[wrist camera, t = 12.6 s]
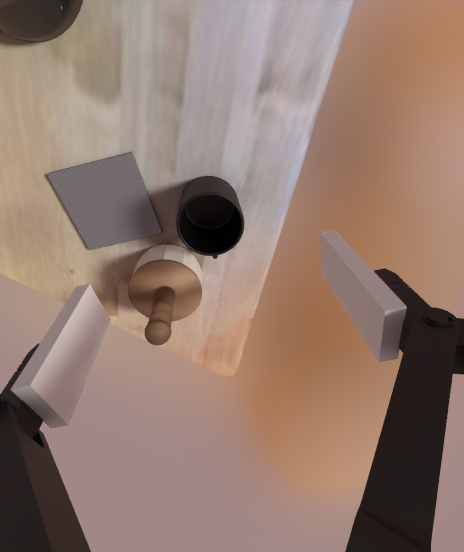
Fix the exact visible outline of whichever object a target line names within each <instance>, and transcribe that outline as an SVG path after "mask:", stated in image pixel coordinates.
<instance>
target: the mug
mask: <svg viewBox="0 0 464 552" xmlns="http://www.w3.org/2000/svg"><path fill="white" fill-rule="evenodd" d="M176 226H177V232H178V235H179V237H180V239H181V240H182V242H183V243H184V244H185V245H186V246H187V247H188V248H189V249H190V250H192V251H194V252H196V253H198V254H201V255H207V256H213V258H214V259H217V257H218V255H220V254H223V253H225V252H227V251H229V250H231V249H232V248H233V247H234V246H235V245H236V244H237V243H238V242H239V240H240V239H241V237H242V234H243V231H244V217H243V214H242V211H241V207H240V204H239V201H238V198H237V195H236V193H235V191H234V189H233V188H232V186H231V185H230V184H229V183H227V182H226V181H225V180H223V179H221V178H218V177H214V176H204V177H200V178H197V179H195V180H194V181H192V182H191V183H190V184H189V185H188V186H187V187H186V188H185V190H184V191H183V194H182V197H181V201H180V205H179V210H178V215H177V220H176Z"/></svg>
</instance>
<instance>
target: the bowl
mask: <svg viewBox="0 0 464 552" xmlns="http://www.w3.org/2000/svg"><path fill="white" fill-rule="evenodd" d="M162 259H164V260H173V261H177V262H179V263H182V264H184V265H186V266H187V267H189V268H190V269H191V270H192V271H193V272H194V273H195V274H196V275H197V277H198V278H199V280H200V283H201V287H202V274H201V269H200V265H199V262H198V260H197V259H196V257H195V256H194V255H193V254H192V253H191V252H190V251H188V250H187V249H185V248H183V247H181V246H178V245H173V244H161V245H157V246H154V247H152V248H150V249H148V250H147V251H146V252H145V253H144V254H143V255H142V256H141V258H140V259H139V260H138V262H137V265H136V268H135V270H134V272H135V271H136V270H137V269H138V268H139V267H140V266H142V265H143V264H145V263H147V262H150V261H154V260H162Z"/></svg>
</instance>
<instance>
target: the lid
mask: <svg viewBox="0 0 464 552" xmlns="http://www.w3.org/2000/svg"><path fill="white" fill-rule="evenodd" d="M128 295H129V299H130V301H131V303H132V305H133V306H134V307H135V308H136V309H137V310H138V311H139V312H140V313H141V314H143V315H145V316H146V317H149V322H148V325H147V326H146V328H145V337H146V339H147V341H148V342H149V343H151V344H153V345H162V344H164V343H166V342H167V341H168V340H169V338H170V336H171V321H176V320H180V319H183V318H185V317H187V316H189V315H190V314H192V313H193V312H194V311H195V310H196V309H197V307H198V306H199V304H200V301H201V297H202V287H201V283H200V280H199V278H198V277H197V275H196V274H195V273H194V272H193V271H192V270H191V269H190V268H189V267H187V266H186V265H184V264H182V263H179V262H177V261H173V260H164V259H162V260H154V261H150V262H147V263H145V264H143V265H142V266H140V267H139V268H138V269H137V270H136V271H135V272H134V273H133V275H132V277H131V279H130V282H129V285H128Z"/></svg>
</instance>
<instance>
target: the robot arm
mask: <svg viewBox="0 0 464 552" xmlns="http://www.w3.org/2000/svg"><path fill="white" fill-rule="evenodd" d="M82 1H83V0H0V33H1V34H4V35H7V36H10V37H13V38H17V39H20V40H24V41H31V42H41V41H47V40H51V39H54V38H56V37H58V36H59V35H61V34H63V33H64V32H65V31H66V30H67V29H68V28H69V27H70V26H71V25H72V24H73V22H74V21H75V19H76V17H77V15H78V13H79V11H80V8H81V5H82ZM320 236H321V261H322V262H321V263H322V275H323V276H324V278H325V279H326V281H327V283H328V284H329V286H330V287H331V289H332V290H333V292H334V294H335V295H336V296H337V298H338V300H339V301H340V303H341V304H342V306H343V308H344V309H345V311H346V312H347V314H348V315H349V317H350V318H351V320H352V321H353V323H354V324H355V326H356V328H357V329H358V331H359V332H360V334H361V335H362V337H363V339H364V340H365V342H366V343H367V345H368V346H369V348H370V349H371V351H372V352H373V354H374V356H375V357H376V359H377V360H378V362H383V361H388V360H393V359H397V358H398V354H399V349H400V350H401V351H402V352H403V356H402V360H401V363H400V367H399V370H398V374H397V378H396V381H395V385H394V388H393V392H392V395H391V399H390V403H389V406H388V409H387V414H386V417H385V420H384V424H383V427H382V431H381V434H380V438H379V441H378V445H377V448H376V452H375V455H374V459H373V462H372V466H371V470H370V473H369V477H368V480H367V484H366V487H365V491H364V494H363V498H362V501H361V504H360V507H359V509H358V511H357V514H356V517H355V520H354V524H353V527H352V531H351V534H350V538H349V541H348V544H347V548H346V551H345V552H431V539H432V531H433V523H434V515H435V507H436V500H437V491H438V484H439V476H440V468H441V461H442V453H443V445H444V437H445V430H446V422H447V421H446V420H447V414H448V406H449V398H450V390H451V383H452V375H453V374H464V319H461V318H456V317H455V316H454V315H453V314H451V313H449V312H448V311H446V310H443V309H439V308H432V307H430V306H429V305H428V304H427V303H426V302H425V301H424V300H423V299H422V298H421V297H420V296H419V295H418V294H417V293H415V292H414V291H413V290H412V289H411V288H409V286H408V285H407V284H406V283H405V282H403V280H402V279H401V278H400V277H399V276H398V275H397V274H395V273H393V272H392V271H389V270H387V269H380V270H375V271H373V270H372V269H371V268H370V267H369V266H368V265H367V264H366V263H365V262H364V260H362V258H361V257H360V256H359V255H358V254H357V253H356V252H355V251H354V250H353V249H352V248H351V247H350V246H349V245H348V244H347V242H345V240H344V239H343V238H342V237H341V236H340V235H339V234H338V233H337V232H336V231H335V230H329V231H325V232H321V233H320ZM110 321H111V319H110V317H109V316H108V314H107V312H106V311H105V309H104V307H103V306H102V304H101V302H100V301H99V299H98V297H97V295H96V294H95V292H94V290H93V289H92V287H91V285H90V284H87V285H83V286H78V287H76V289H75V290H74V292H73V293H72V295H71V296H70V298H69V299H68V301H67V303H66V304H65V306H64V307H63V309H62V310H61V312H60V313H59V315H58V317H57V318H56V320H55V321H54V323H53V324H52V326H51V327H50V329H49V331H48V332H47V334H46V335H45V337H44V339H43V340H42V341H41V343H40V344H37V345H36V346H35V347H34V348H33V349H32V350H31V351H30V352H29V353H28V354H27V355H26V357H25V358H24V360H23V361H22V364H20V366H19V368H18V369H17V372H15V373H14V375H13V376H12V378H11V379H10V381H9V382H8V384H7V385H6V387H5V388H4V390H3V391H2V393H1V394H0V552H91V551H90V549H89V546H88V543H87V541H86V538H85V536H84V533H83V531H82V528H81V526H80V523H79V521H78V518H77V516H76V513H75V511H74V508H73V506H72V503H71V501H70V499H69V496H68V493H67V491H66V489H65V486H64V483H63V481H62V478H61V476H60V473H59V471H58V469H57V466H56V464H55V461H54V459H53V457H52V454H51V451H50V449H49V446H48V444H47V441H46V439H45V436H44V434H43V433H42V432H41V431H40V430H39V428H40V426H41V424H42V422H43V421H44V422H45V423H46V424H47V425H48V426H49V427H50V428H56V427H60V426H65V425H68V424H69V422H70V420H71V417H72V415H73V412H74V410H75V407H76V405H77V402H78V400H79V397H80V395H81V392H82V390H83V387H84V385H85V383H86V380H87V378H88V375H89V372H90V370H91V367H92V365H93V363H94V360H95V358H96V355H97V353H98V350H99V348H100V345H101V343H102V340H103V338H104V335H105V333H106V330H107V328H108V325H109V323H110Z"/></svg>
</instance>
